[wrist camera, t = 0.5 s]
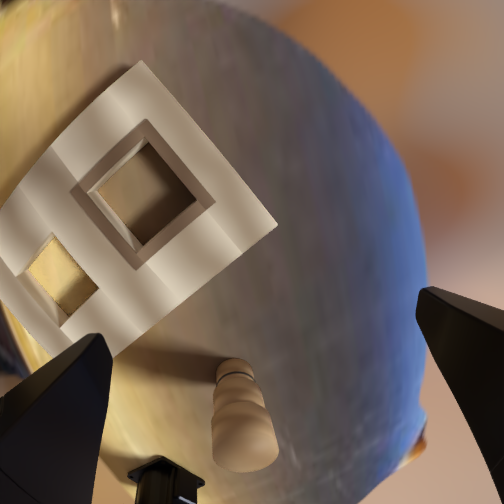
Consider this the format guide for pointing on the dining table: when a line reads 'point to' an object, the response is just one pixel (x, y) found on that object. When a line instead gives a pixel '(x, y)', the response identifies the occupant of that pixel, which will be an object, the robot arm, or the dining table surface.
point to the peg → (241, 420)
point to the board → (110, 225)
